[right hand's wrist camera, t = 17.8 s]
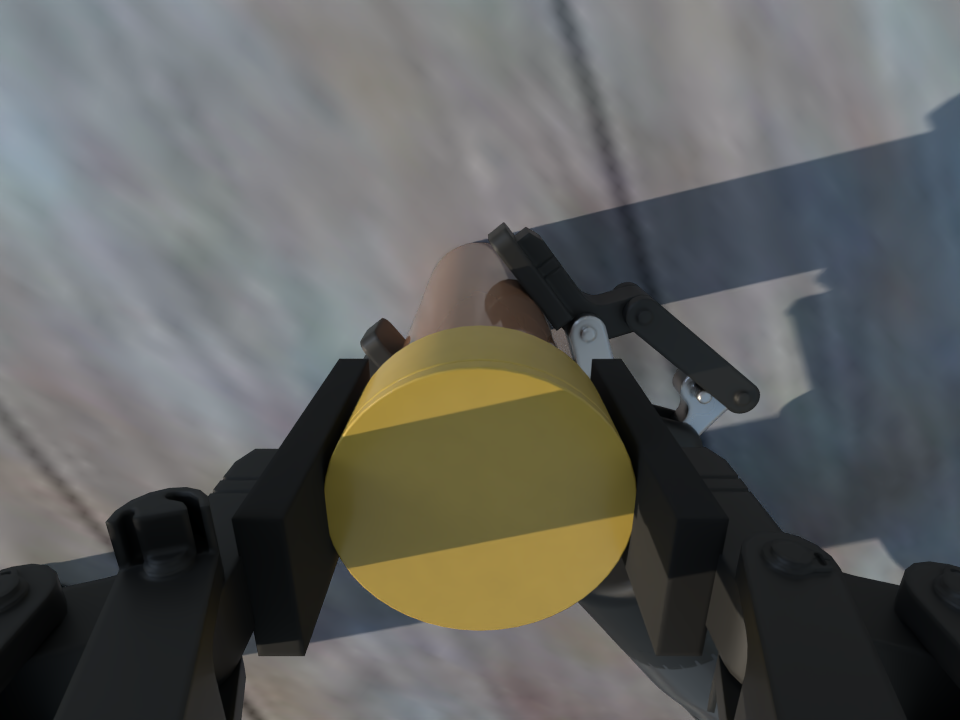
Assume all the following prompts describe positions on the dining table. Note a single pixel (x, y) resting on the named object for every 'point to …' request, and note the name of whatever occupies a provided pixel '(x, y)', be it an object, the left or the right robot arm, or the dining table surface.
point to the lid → (480, 482)
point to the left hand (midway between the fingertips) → (432, 284)
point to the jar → (476, 296)
